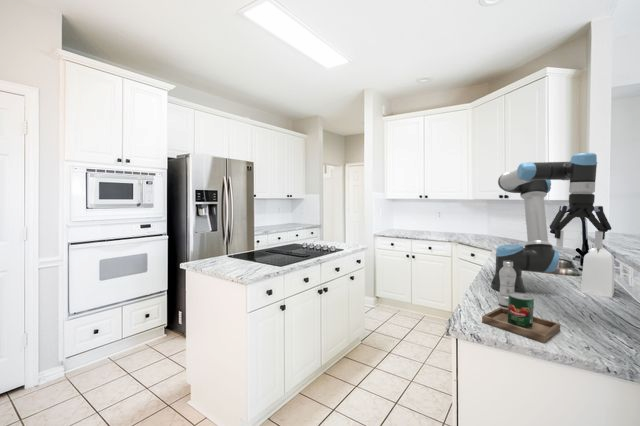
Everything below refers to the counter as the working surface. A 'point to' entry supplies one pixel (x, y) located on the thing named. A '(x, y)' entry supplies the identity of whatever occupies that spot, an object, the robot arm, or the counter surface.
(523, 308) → the canned tomato
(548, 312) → the counter surface
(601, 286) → the milk
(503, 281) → the plastic bottle
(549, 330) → the walnut tray
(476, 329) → the counter surface
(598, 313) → the counter surface
